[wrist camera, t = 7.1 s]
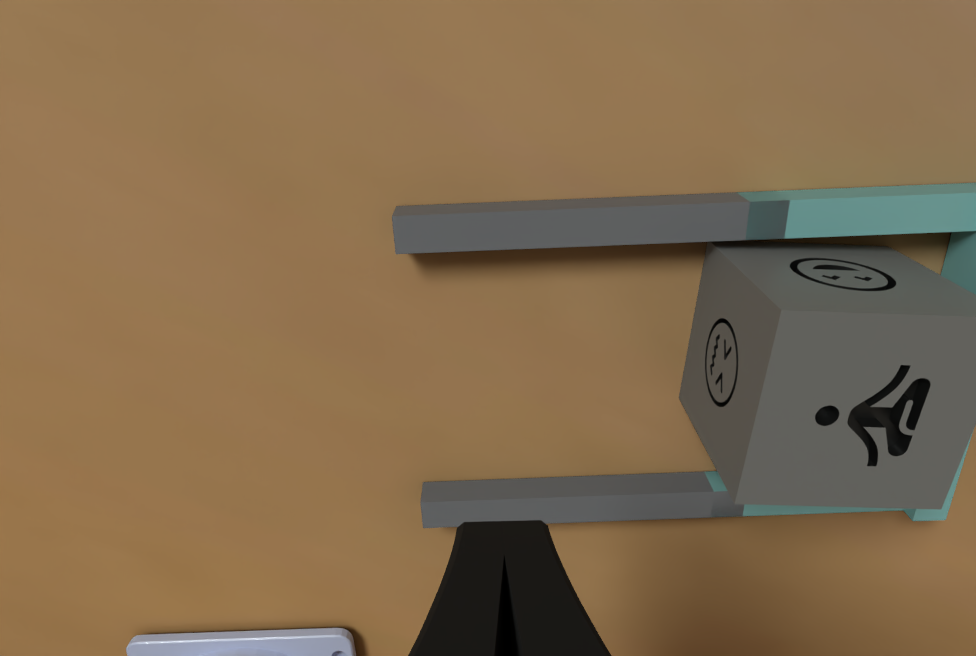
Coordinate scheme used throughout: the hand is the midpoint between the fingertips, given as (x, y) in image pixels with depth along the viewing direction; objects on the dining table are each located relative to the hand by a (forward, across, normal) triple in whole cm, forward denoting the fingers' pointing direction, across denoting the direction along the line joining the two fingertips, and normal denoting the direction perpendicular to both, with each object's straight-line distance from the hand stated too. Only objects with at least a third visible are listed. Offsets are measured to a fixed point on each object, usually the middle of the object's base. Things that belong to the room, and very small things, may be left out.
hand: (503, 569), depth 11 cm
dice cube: (+10, -8, 0) cm, 13 cm away
